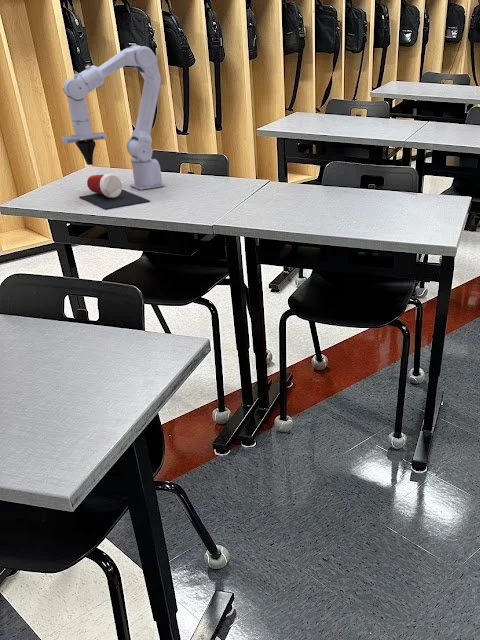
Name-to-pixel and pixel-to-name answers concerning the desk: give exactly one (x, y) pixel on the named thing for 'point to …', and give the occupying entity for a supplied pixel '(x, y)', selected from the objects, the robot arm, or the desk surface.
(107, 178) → the paper cup
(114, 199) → the desk mat
